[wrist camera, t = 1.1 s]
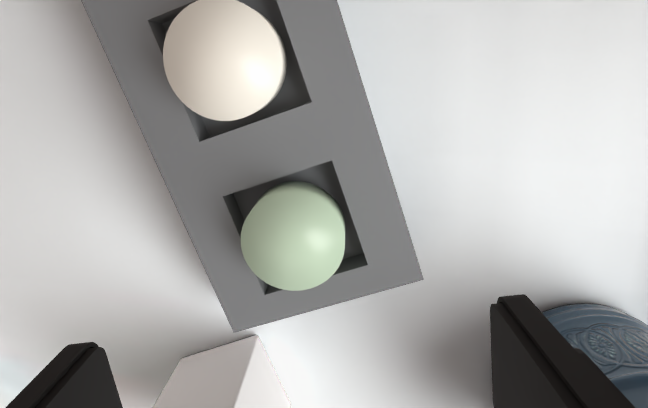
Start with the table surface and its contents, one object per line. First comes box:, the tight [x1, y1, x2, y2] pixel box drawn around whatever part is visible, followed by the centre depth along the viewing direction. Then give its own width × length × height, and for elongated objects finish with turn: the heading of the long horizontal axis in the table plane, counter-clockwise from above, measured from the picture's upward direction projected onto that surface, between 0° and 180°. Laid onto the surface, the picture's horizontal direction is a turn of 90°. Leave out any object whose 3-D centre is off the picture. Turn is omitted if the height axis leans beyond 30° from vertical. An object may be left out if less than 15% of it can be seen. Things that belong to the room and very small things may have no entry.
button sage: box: [241, 181, 345, 291], centre depth 26 cm, size 6×6×3 cm
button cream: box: [163, 0, 287, 121], centre depth 24 cm, size 6×6×3 cm
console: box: [81, 0, 424, 332], centre depth 27 cm, size 13×32×5 cm, turn 19°
